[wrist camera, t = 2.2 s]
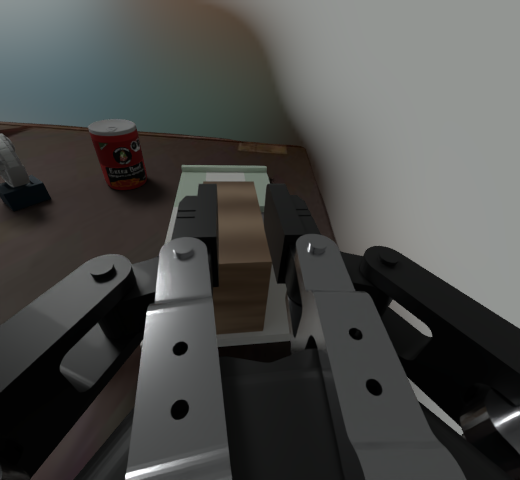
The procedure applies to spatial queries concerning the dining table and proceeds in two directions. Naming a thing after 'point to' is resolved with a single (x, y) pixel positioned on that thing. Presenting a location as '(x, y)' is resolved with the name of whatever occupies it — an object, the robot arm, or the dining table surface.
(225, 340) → the trap lane
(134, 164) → the canned food
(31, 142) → the dining table surface
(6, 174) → the watch
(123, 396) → the dining table surface
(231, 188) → the walnut block
